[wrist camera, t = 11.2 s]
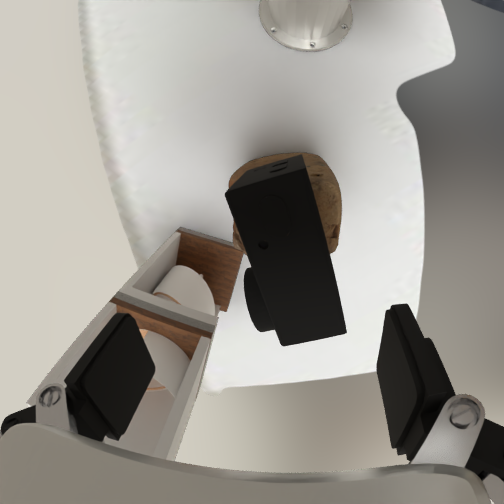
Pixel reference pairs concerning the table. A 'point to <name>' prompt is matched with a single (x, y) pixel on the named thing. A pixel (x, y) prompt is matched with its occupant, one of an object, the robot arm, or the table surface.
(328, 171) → the brown rounded lump
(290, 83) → the table surface
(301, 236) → the digital camera
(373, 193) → the table surface
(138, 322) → the toilet paper holder
